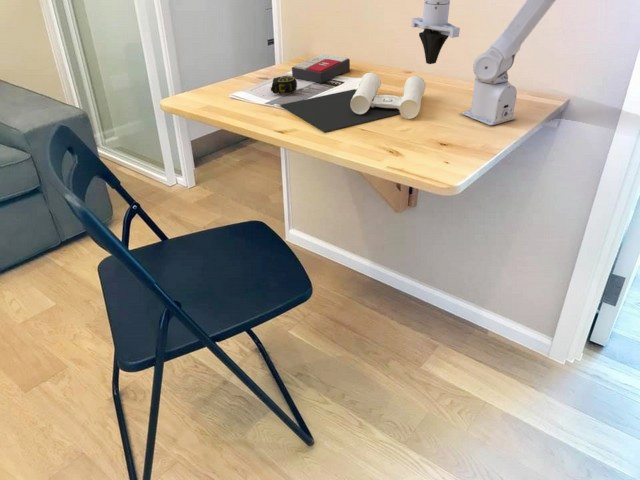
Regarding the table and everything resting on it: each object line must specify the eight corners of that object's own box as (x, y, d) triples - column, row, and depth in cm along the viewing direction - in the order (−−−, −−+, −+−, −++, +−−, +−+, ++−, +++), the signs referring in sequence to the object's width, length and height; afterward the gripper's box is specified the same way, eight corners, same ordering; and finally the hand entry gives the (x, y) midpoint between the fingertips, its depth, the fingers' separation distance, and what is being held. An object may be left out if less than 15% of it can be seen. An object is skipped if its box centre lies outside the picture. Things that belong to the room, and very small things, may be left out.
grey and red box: (290, 65, 154) (320, 51, 163) (291, 79, 156) (321, 65, 166) (321, 70, 148) (350, 56, 158) (321, 85, 151) (350, 70, 160)
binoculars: (419, 121, 124) (424, 97, 139) (422, 98, 121) (426, 76, 136) (348, 114, 127) (360, 91, 142) (349, 92, 124) (361, 71, 139)
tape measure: (273, 88, 147) (272, 75, 145) (297, 88, 147) (297, 74, 145) (271, 96, 142) (270, 82, 139) (296, 96, 141) (295, 82, 139)
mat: (404, 113, 129) (405, 111, 129) (325, 132, 119) (324, 131, 119) (354, 90, 145) (354, 89, 144) (280, 105, 135) (280, 104, 135)
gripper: (403, 0, 124) (399, 58, 131) (445, 9, 113) (438, 72, 121) (426, -3, 127) (421, 54, 134) (469, 5, 116) (461, 67, 124)
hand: (431, 63), depth 128 cm, fingers closed
